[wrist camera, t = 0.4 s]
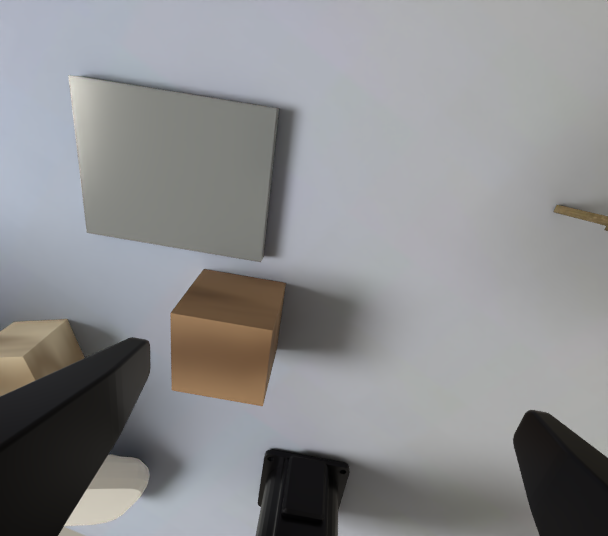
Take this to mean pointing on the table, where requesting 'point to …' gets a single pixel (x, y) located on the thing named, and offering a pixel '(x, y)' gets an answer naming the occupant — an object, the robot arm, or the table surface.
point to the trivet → (174, 167)
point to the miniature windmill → (583, 215)
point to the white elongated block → (111, 491)
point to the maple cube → (35, 351)
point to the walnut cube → (226, 336)
